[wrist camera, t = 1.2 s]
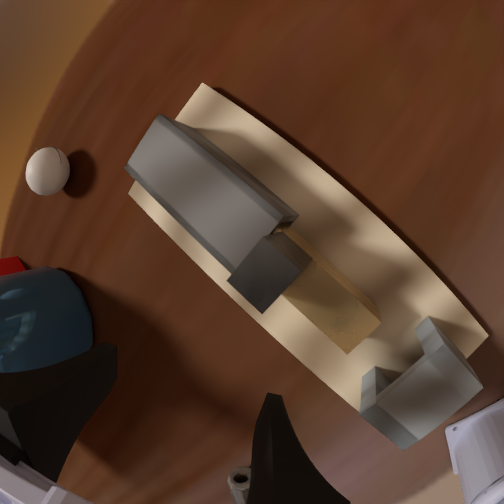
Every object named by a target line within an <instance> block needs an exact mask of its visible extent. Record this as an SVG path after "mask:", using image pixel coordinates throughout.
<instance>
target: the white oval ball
mask: <svg viewBox="0 0 504 504" xmlns="http://www.w3.org/2000/svg"><path fill="white" fill-rule="evenodd" d="M36 150H37V149H36ZM69 175H70V165H69V162H68V159H67V157H66V155H65V154H64V153H63V152H62V151H60V150H58V149H56V148H55V147H53V146H51V147H50V148H43V149H41V150H39V151H38V150H37V152H36V153H35V154H34V155H33V156H32V157H31V158H30V160H29V162H28V164H27V168H26V180H27V183H28V185H29V186H30V188H31V189H32V190H33V191H34V192H36V193H37V194H39V195H45V196H48V195H53V194H55V193H57V192H58V191H60V190H61V189H62V188H63V187H64V186H65V184H66V182H67V180H68V178H69Z"/></svg>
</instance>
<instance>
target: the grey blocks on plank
mask: <svg viewBox="0 0 504 504" xmlns="http://www.w3.org/2000/svg"><path fill="white" fill-rule="evenodd" d="M124 169H125V170H126V171H127V172H128V173H129V174H130V175H131V176H132V177H133V178H134V179H135V180H136V181H135V182H134V184H133V186H132V188H131V189H130V191H129V193H128V194H129V195H130V196H131V197H132V198H133V199H134V200H135V201H136V202H137V203H138V204H139V205H140V206H141V207H142V208H143V210H144V211H145V212H146V213H147V214H148V215H149V216H150V217H151V218H152V219H153V220H154V221H155V222H156V223H157V224H158V225H159V226H160V227H161V228H162V229H163V230H164V231H165V232H166V233H167V234H168V235H169V236H170V237H171V238H172V239H173V240H174V241H175V242H176V243H177V244H178V245H179V246H180V247H181V248H182V249H183V250H184V251H185V252H186V253H187V254H188V255H189V256H190V257H191V258H192V259H193V260H194V261H195V262H196V263H197V264H198V265H199V266H200V267H201V268H202V269H203V270H204V271H205V272H206V273H207V274H208V275H209V276H210V277H211V278H212V279H213V280H214V281H215V282H216V283H217V284H218V285H219V286H220V287H221V288H222V289H223V290H224V291H225V292H226V293H227V294H228V295H229V296H230V297H232V298H233V299H234V300H235V301H236V302H237V303H238V304H239V305H240V306H241V307H242V308H243V309H244V310H245V311H246V312H247V313H248V314H249V315H251V316H252V317H253V318H254V319H255V320H256V321H257V322H258V323H259V324H260V325H261V326H262V327H263V328H264V329H266V330H267V331H268V332H269V333H270V334H271V335H272V336H273V337H274V338H275V339H276V340H278V341H279V342H280V343H281V344H282V345H283V346H284V347H285V348H286V349H287V350H289V351H290V352H291V353H292V354H293V355H294V356H295V357H296V358H297V359H299V360H300V361H301V362H302V363H303V364H304V365H305V366H306V367H308V368H309V369H310V370H311V371H312V372H313V373H314V374H316V375H317V376H318V377H319V378H320V379H321V380H322V381H324V382H325V383H326V384H327V385H328V386H329V387H330V388H332V389H333V390H334V391H335V392H336V393H337V394H339V395H340V396H341V397H342V398H343V399H344V400H346V401H347V402H348V403H349V404H350V405H351V406H353V407H354V408H355V409H356V410H357V411H359V412H360V416H362V417H363V418H364V419H365V420H366V421H368V422H369V423H370V424H371V425H372V426H374V427H375V428H376V429H377V430H379V431H380V432H381V433H382V434H384V435H385V436H386V437H387V438H389V439H390V440H391V441H392V442H394V443H395V444H396V445H397V446H399V447H400V448H401V449H402V450H405V449H407V448H408V447H410V446H411V445H413V444H414V443H416V442H417V441H419V440H420V439H421V438H423V437H424V436H426V435H427V434H428V433H430V432H431V431H432V430H434V429H435V428H436V427H438V426H439V425H440V424H442V423H443V422H444V421H445V420H447V419H448V418H449V417H450V416H452V415H453V414H454V413H455V412H456V411H458V410H459V409H460V408H461V407H462V406H464V405H465V404H466V403H467V402H468V401H469V400H470V399H472V398H473V397H474V396H475V395H476V394H477V393H478V392H479V391H480V390H481V389H482V388H484V387H483V386H482V384H481V382H480V380H479V379H478V377H477V375H476V374H475V372H474V370H473V369H472V367H471V365H470V364H469V362H468V361H467V358H468V357H469V356H470V355H471V354H472V353H473V352H474V351H475V350H476V349H477V348H478V347H479V346H480V345H481V343H482V342H483V341H484V340H485V339H486V338H487V337H488V336H489V335H488V334H487V333H486V332H485V330H484V329H483V328H482V327H481V326H480V324H479V323H478V322H477V321H476V320H475V318H474V317H473V316H472V315H471V314H470V312H469V311H468V310H467V309H466V308H465V307H464V305H463V304H462V303H461V302H460V301H459V300H458V299H457V297H456V296H455V295H454V294H453V293H452V292H451V291H450V290H449V289H448V287H447V286H446V285H445V284H444V283H443V282H442V281H441V280H440V279H439V278H438V277H437V276H436V275H435V273H434V272H433V271H432V270H431V269H430V268H429V267H428V266H427V265H426V264H425V263H424V262H423V261H422V260H421V259H420V258H419V257H418V256H417V255H416V254H415V253H414V252H413V251H412V250H411V249H410V248H409V247H408V246H407V245H406V244H405V243H404V242H403V241H402V240H401V239H400V238H399V237H398V236H397V235H396V234H395V233H394V232H393V231H392V230H391V229H390V228H389V227H387V226H386V225H385V224H384V223H383V222H382V221H381V220H380V219H379V218H378V217H377V216H376V215H375V214H373V213H372V212H371V211H370V210H369V209H368V208H367V207H366V206H365V205H364V204H362V203H361V202H360V201H359V200H358V199H357V198H356V197H354V196H353V195H352V194H351V193H350V192H349V191H348V190H346V189H345V188H344V187H343V186H342V185H341V184H339V183H338V182H337V181H336V180H335V179H333V178H332V177H331V176H330V175H329V174H327V173H326V172H325V171H324V170H323V169H321V168H320V167H319V166H318V165H316V164H315V163H314V162H313V161H311V160H310V159H309V158H308V157H306V156H305V155H304V154H303V153H301V152H300V151H299V150H297V149H296V148H295V147H294V146H292V145H291V144H290V143H288V142H287V141H286V140H284V139H283V138H282V137H280V136H279V135H278V134H276V133H275V132H274V131H272V130H271V129H270V128H268V127H267V126H266V125H264V124H263V123H261V122H260V121H259V120H257V119H256V118H254V117H253V116H251V115H250V114H249V113H247V112H246V111H244V110H243V109H241V108H240V107H239V106H237V105H236V104H234V103H233V102H231V101H230V100H228V99H227V98H225V97H224V96H222V95H221V94H219V93H218V92H216V91H214V90H213V89H211V88H210V87H208V86H207V85H205V84H204V83H202V84H201V85H200V87H199V88H198V89H197V90H196V92H195V93H194V94H193V96H192V97H191V98H190V100H189V101H188V102H187V104H186V105H185V107H184V108H183V109H182V111H181V112H180V114H179V115H178V116H177V118H176V119H175V120H174V119H171V118H169V117H167V116H164V115H162V114H158V116H157V117H156V119H155V120H154V122H153V123H152V125H151V126H150V128H149V129H148V131H147V132H146V134H145V135H144V137H143V139H142V140H141V142H140V143H139V145H138V147H137V148H136V150H135V151H134V153H133V155H132V156H131V158H130V160H129V161H128V163H127V165H126V166H125V168H124ZM281 222H286V223H287V224H288V225H289V226H290V227H291V228H293V229H294V230H295V231H296V232H297V233H298V234H299V235H300V236H302V237H303V238H304V239H305V240H306V241H307V242H308V243H309V244H310V245H312V246H313V247H314V248H315V249H316V250H317V251H318V252H319V253H320V254H322V255H323V256H324V257H325V258H326V259H327V260H328V261H329V262H330V263H331V264H332V265H334V266H335V267H336V268H337V269H338V270H339V271H340V272H341V273H342V274H343V275H344V276H345V277H347V278H348V279H349V280H350V281H351V282H352V283H353V284H354V285H355V286H356V287H357V288H358V289H359V290H360V291H361V292H362V293H364V294H365V295H366V296H367V297H368V298H369V299H370V300H371V301H372V302H373V303H374V304H375V305H376V306H377V307H378V308H379V311H380V317H381V322H382V323H381V324H380V325H379V326H378V327H377V328H376V329H375V330H374V331H373V332H371V333H370V334H369V335H368V336H367V337H366V338H365V339H364V340H363V341H362V342H361V343H360V344H359V345H358V346H356V347H355V348H354V349H353V350H352V351H351V352H350V353H349V354H348V355H347V354H346V353H345V352H344V351H343V350H341V349H340V348H339V347H338V346H337V345H336V344H335V343H334V342H333V341H332V340H330V339H329V338H328V337H327V336H326V335H325V334H324V333H323V332H322V331H321V330H319V329H318V328H317V327H316V326H315V325H314V324H313V323H312V322H311V321H310V320H309V319H307V318H306V317H305V316H304V315H303V314H302V313H301V312H300V311H299V310H298V309H297V308H295V307H294V306H293V305H292V304H291V303H290V302H289V301H288V300H287V299H286V298H285V297H284V296H282V295H280V297H279V298H278V299H277V300H276V301H275V302H274V303H273V304H272V305H271V306H270V307H269V308H268V309H267V310H266V311H265V312H264V313H263V314H261V313H260V312H259V311H258V310H257V309H256V308H255V307H254V306H252V305H251V304H250V303H249V302H248V301H247V300H246V299H245V298H244V297H243V296H242V295H241V294H240V293H239V292H238V291H237V290H236V289H234V288H233V287H232V286H231V285H230V284H229V283H228V282H227V281H226V280H227V279H228V278H229V277H230V275H231V274H232V273H233V272H234V271H235V269H236V268H237V267H238V266H239V265H240V263H241V262H242V261H243V260H244V258H245V257H246V256H247V255H248V254H249V252H250V251H251V250H252V249H253V247H254V246H255V245H256V244H257V243H258V241H259V240H260V239H261V238H262V237H263V236H266V235H270V234H272V232H273V231H274V230H275V229H276V227H277V226H278V225H279V224H280V223H281Z"/></svg>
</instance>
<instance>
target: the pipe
mask: <svg viewBox="0 0 504 504" xmlns="http://www.w3.org/2000/svg"><path fill="white" fill-rule="evenodd" d="M250 478H251V468H249V467H238V468H235V469H234V470H233V471H232V472H231V473H230V475H229V477H228V481H227V483H228V486H229V490H230V493H231V496H232V498H233V501H234V504H246V502H247V497H248V491H249V486H250Z"/></svg>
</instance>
